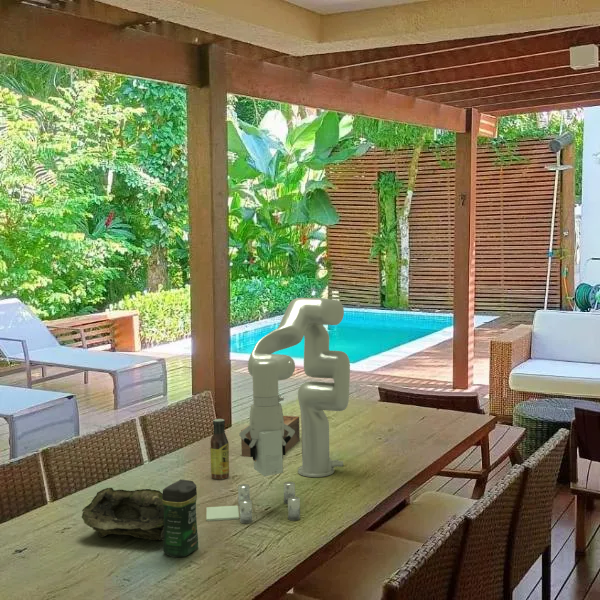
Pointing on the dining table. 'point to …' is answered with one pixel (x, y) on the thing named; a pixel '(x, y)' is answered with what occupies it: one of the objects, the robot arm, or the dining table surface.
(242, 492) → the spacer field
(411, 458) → the dining table surface
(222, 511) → the sage mat
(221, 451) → the sauce bottle
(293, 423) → the tissue box cover
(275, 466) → the small box
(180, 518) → the coffee jar
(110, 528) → the hollow geode rock
